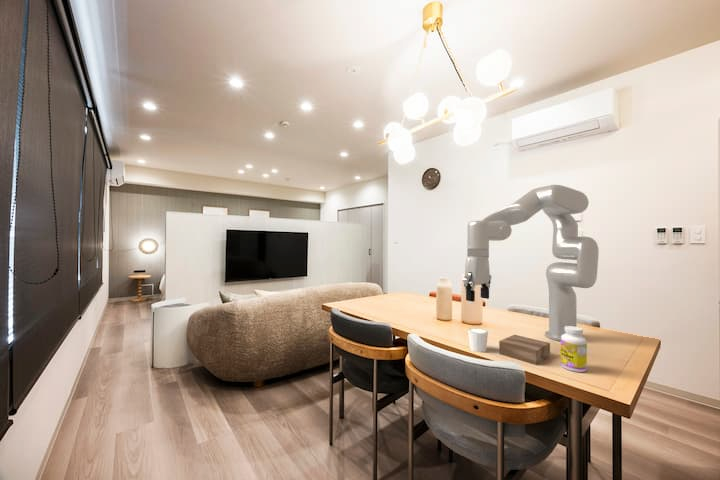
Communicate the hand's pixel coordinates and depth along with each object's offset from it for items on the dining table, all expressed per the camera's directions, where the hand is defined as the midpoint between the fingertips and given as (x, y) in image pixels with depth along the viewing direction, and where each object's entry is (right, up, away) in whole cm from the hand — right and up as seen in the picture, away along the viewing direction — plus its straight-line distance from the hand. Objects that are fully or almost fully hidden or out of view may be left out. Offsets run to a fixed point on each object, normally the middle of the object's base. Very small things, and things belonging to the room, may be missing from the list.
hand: (477, 299), depth 109 cm
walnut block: (+14, -19, -6) cm, 24 cm away
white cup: (0, -19, 0) cm, 19 cm away
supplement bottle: (+24, -19, -17) cm, 34 cm away
